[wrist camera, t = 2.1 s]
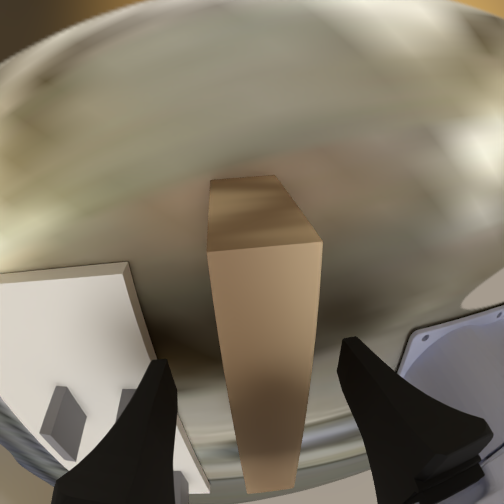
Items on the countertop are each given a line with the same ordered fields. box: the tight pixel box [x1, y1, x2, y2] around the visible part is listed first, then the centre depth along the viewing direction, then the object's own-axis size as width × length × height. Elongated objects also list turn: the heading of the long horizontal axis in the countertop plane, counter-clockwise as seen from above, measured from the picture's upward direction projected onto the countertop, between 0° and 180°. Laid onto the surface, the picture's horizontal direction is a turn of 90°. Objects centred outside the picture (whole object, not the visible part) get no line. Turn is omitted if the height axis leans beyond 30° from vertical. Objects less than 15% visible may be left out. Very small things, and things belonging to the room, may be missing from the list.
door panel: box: [207, 175, 323, 494], centre depth 12 cm, size 2×14×6 cm, turn 3°
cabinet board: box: [0, 262, 210, 504], centre depth 16 cm, size 13×24×4 cm, turn 3°
